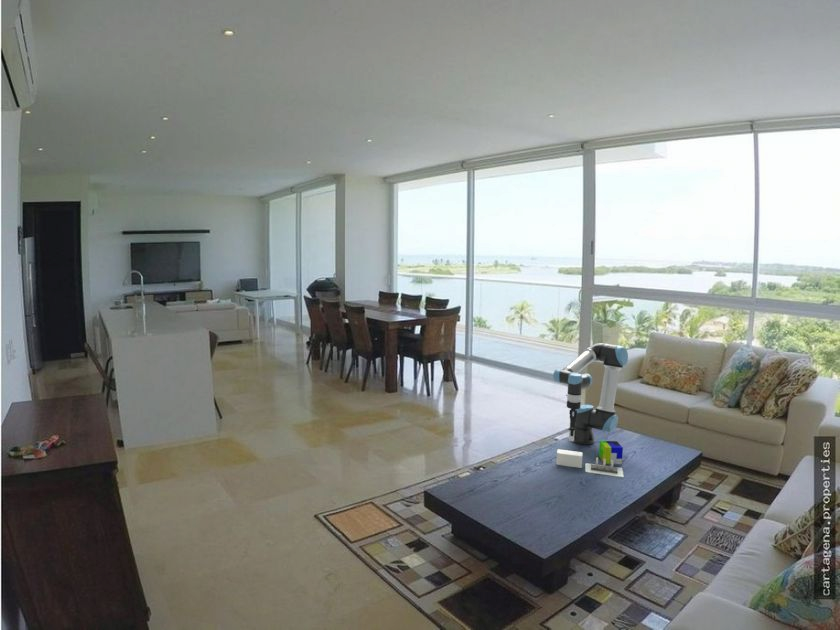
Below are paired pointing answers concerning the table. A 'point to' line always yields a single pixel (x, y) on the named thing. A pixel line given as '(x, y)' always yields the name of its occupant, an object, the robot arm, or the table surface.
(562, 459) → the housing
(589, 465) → the plate
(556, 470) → the table surface
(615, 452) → the puzzle toy
